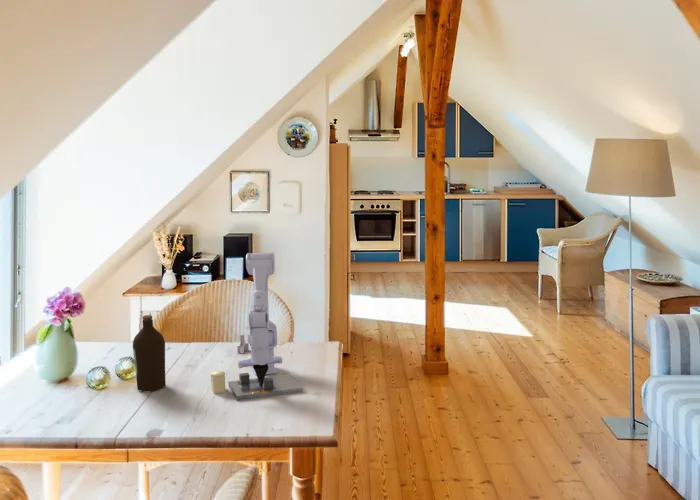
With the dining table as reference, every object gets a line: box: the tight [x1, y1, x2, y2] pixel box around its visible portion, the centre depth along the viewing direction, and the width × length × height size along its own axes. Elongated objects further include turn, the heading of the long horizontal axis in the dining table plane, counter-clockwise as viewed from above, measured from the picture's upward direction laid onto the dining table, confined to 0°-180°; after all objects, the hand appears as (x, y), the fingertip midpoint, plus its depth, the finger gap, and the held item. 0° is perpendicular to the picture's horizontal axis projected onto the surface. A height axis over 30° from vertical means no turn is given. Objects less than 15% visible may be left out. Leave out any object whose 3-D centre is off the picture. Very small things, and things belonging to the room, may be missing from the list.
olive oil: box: [132, 314, 166, 392], centre depth 256 cm, size 11×11×25 cm
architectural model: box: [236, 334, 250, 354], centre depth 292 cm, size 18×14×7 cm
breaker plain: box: [238, 372, 251, 384], centre depth 256 cm, size 2×3×3 cm
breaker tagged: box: [263, 378, 273, 389], centre depth 251 cm, size 2×3×3 cm
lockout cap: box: [210, 370, 227, 394], centre depth 253 cm, size 5×5×6 cm
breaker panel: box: [227, 373, 303, 401], centre depth 254 cm, size 15×22×2 cm
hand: (261, 386), depth 250 cm, fingers closed
